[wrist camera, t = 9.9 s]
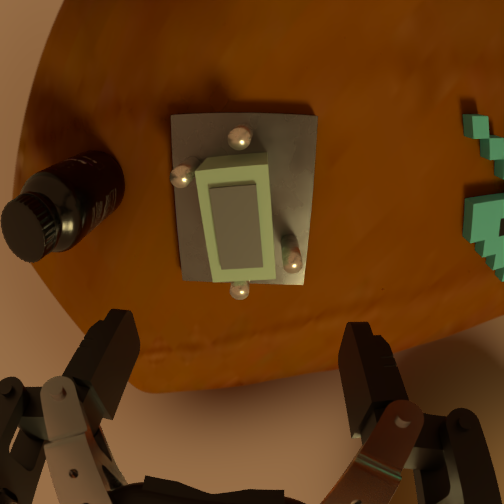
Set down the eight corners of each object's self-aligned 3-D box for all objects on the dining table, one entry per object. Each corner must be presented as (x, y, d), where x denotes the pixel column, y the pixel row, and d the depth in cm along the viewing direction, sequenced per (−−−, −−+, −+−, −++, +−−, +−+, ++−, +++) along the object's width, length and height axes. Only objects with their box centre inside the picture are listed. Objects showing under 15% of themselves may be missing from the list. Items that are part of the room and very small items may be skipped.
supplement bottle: (103, 135, 25) (20, 165, 15) (139, 193, 28) (75, 252, 17) (59, 173, 27) (-19, 218, 16) (93, 225, 30) (28, 288, 19)
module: (207, 157, 25) (193, 172, 20) (267, 152, 25) (267, 165, 20) (220, 252, 29) (212, 284, 25) (274, 249, 29) (276, 280, 24)
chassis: (174, 114, 24) (154, 118, 20) (315, 115, 24) (327, 119, 20) (185, 274, 32) (173, 304, 27) (302, 278, 32) (307, 309, 27)
